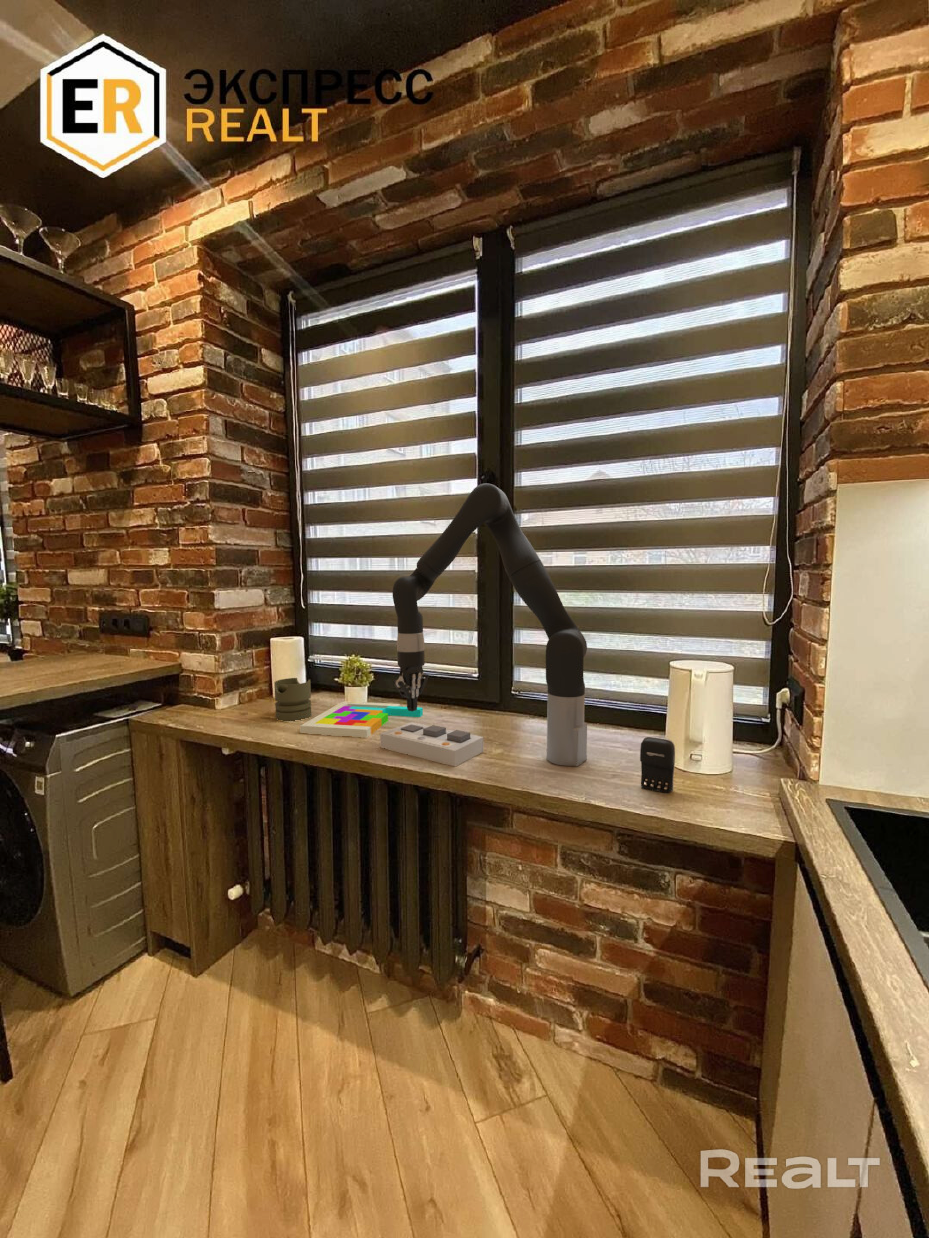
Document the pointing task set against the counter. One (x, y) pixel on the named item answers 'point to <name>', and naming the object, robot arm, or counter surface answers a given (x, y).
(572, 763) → the robot arm
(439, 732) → the button middle
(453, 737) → the button near
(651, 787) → the battery charger
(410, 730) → the button far
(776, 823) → the counter surface
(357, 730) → the puzzle game
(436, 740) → the button panel
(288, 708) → the piston
